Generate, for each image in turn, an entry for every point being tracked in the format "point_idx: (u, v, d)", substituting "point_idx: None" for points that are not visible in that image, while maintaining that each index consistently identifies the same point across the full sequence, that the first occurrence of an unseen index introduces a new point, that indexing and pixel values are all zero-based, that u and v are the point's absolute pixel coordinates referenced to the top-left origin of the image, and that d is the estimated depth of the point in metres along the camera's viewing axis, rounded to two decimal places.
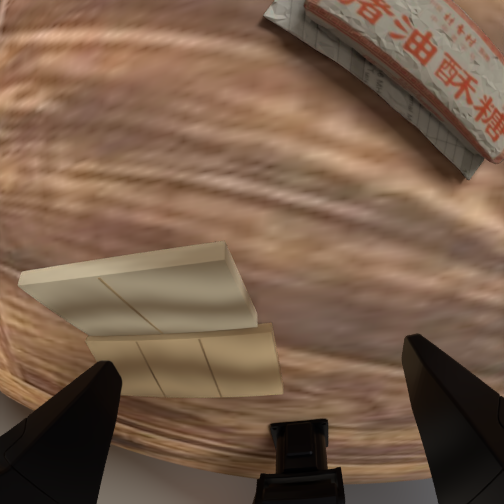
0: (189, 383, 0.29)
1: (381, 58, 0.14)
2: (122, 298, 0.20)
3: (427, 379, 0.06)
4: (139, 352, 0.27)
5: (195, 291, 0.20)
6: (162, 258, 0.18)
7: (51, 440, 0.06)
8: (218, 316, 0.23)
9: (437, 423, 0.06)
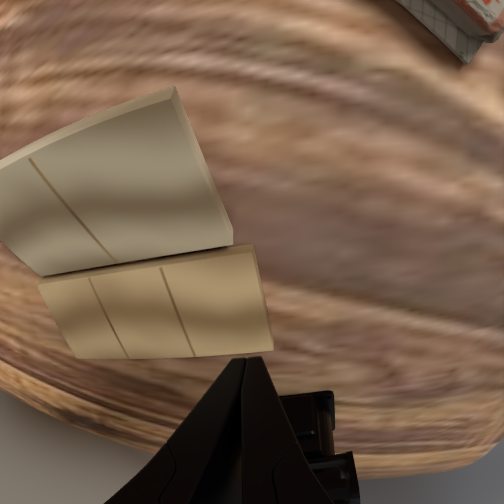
0: (154, 336, 0.23)
1: None
2: (58, 194, 0.15)
3: None
4: (93, 293, 0.22)
5: (141, 168, 0.14)
6: (99, 117, 0.12)
7: (210, 466, 0.05)
8: (179, 221, 0.17)
9: None
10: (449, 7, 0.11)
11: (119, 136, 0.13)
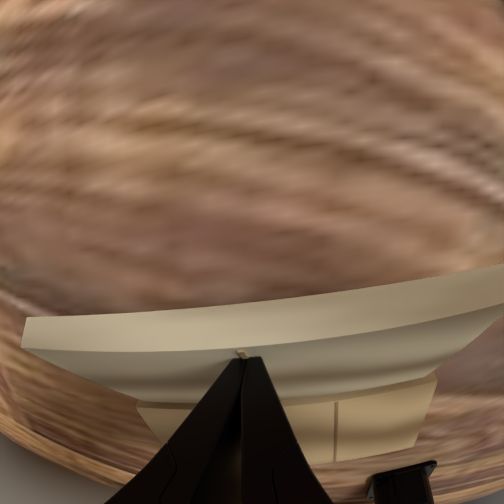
0: None
1: None
2: None
3: None
4: None
5: (415, 350, 0.10)
6: (408, 302, 0.08)
7: (210, 466, 0.05)
8: (397, 374, 0.13)
9: None
10: None
11: (429, 331, 0.08)
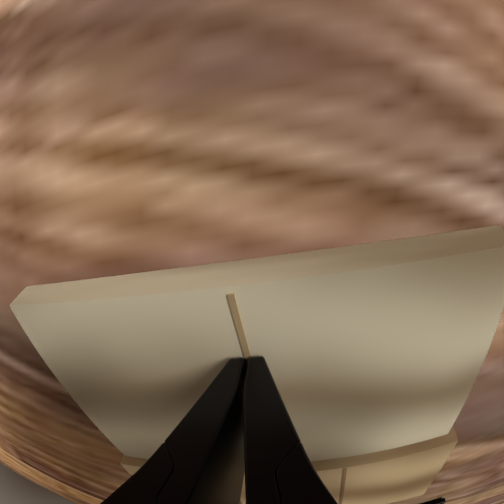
0: None
1: None
2: None
3: None
4: None
5: (429, 344, 0.08)
6: (404, 249, 0.08)
7: (207, 466, 0.05)
8: (416, 414, 0.10)
9: None
10: None
11: (435, 290, 0.07)
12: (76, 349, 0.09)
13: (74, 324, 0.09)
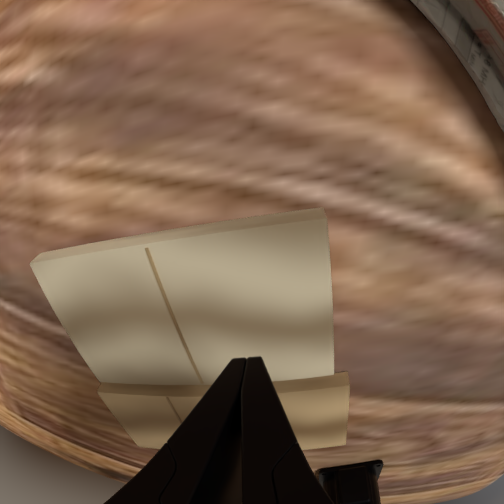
0: None
1: None
2: (166, 297, 0.16)
3: None
4: (170, 408, 0.20)
5: (273, 286, 0.15)
6: (242, 223, 0.14)
7: (210, 466, 0.05)
8: (290, 347, 0.17)
9: None
10: None
11: (263, 248, 0.14)
12: (69, 288, 0.16)
13: (68, 271, 0.15)
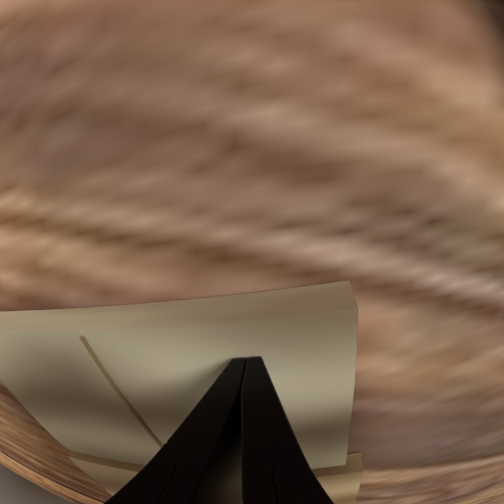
0: None
1: None
2: (120, 393, 0.10)
3: None
4: None
5: None
6: (218, 309, 0.09)
7: (210, 466, 0.05)
8: None
9: None
10: None
11: (252, 349, 0.08)
12: (8, 363, 0.10)
13: (2, 345, 0.10)
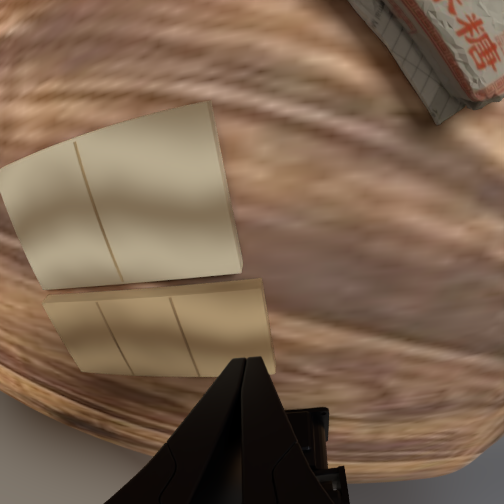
0: (160, 357, 0.24)
1: None
2: (88, 186, 0.17)
3: None
4: (100, 316, 0.22)
5: (169, 167, 0.16)
6: (144, 116, 0.15)
7: (210, 466, 0.05)
8: (193, 235, 0.18)
9: None
10: (436, 61, 0.12)
11: (158, 132, 0.15)
12: (20, 189, 0.17)
13: (21, 173, 0.17)
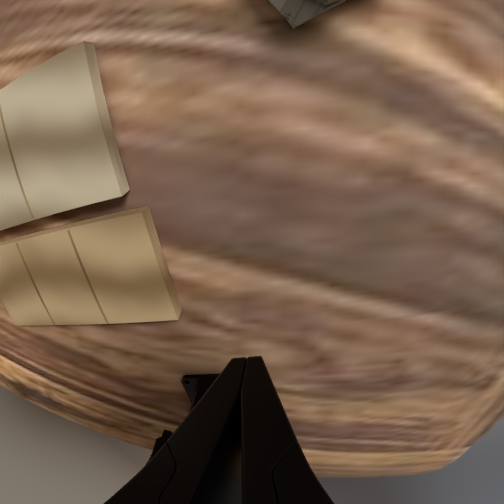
0: (71, 301, 0.22)
1: None
2: (5, 129, 0.16)
3: None
4: (20, 258, 0.21)
5: (58, 102, 0.15)
6: None
7: (210, 466, 0.05)
8: (78, 161, 0.17)
9: None
10: None
11: (50, 73, 0.14)
12: None
13: None
